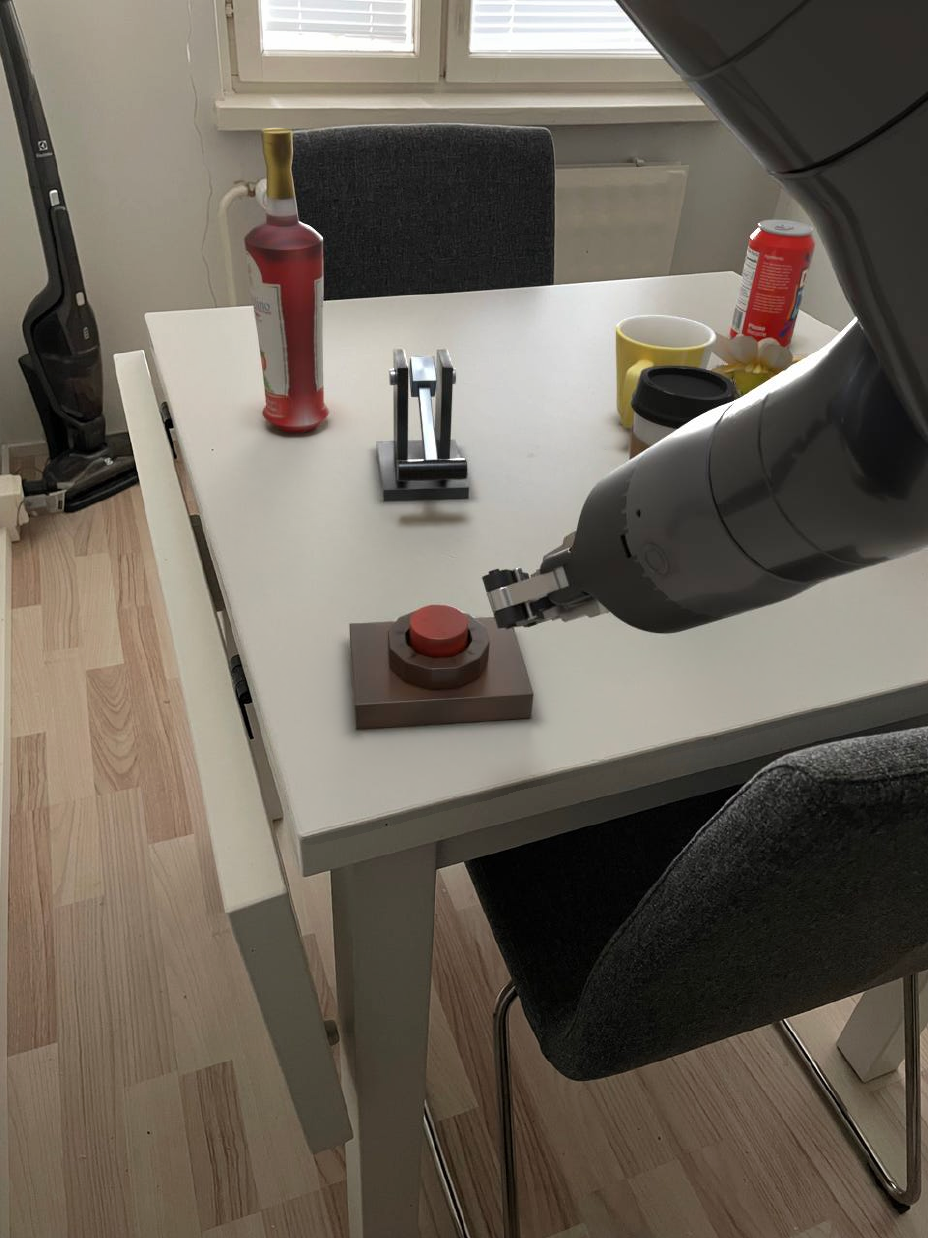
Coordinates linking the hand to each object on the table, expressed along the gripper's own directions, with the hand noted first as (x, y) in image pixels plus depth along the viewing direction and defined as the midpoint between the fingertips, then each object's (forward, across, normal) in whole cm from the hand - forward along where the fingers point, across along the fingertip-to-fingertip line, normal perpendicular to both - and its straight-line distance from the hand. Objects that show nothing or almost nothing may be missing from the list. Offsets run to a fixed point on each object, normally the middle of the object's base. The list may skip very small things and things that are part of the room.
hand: (526, 606), depth 53 cm
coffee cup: (+24, -27, -4) cm, 36 cm away
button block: (+17, 0, +2) cm, 17 cm away
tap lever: (+30, -11, -20) cm, 38 cm away
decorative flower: (+39, -58, -20) cm, 73 cm away
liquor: (+48, -5, -29) cm, 56 cm away
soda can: (+48, -69, -28) cm, 88 cm away
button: (+15, 0, 0) cm, 15 cm away
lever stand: (+37, -12, -18) cm, 43 cm away
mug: (+37, -39, -18) cm, 57 cm away
